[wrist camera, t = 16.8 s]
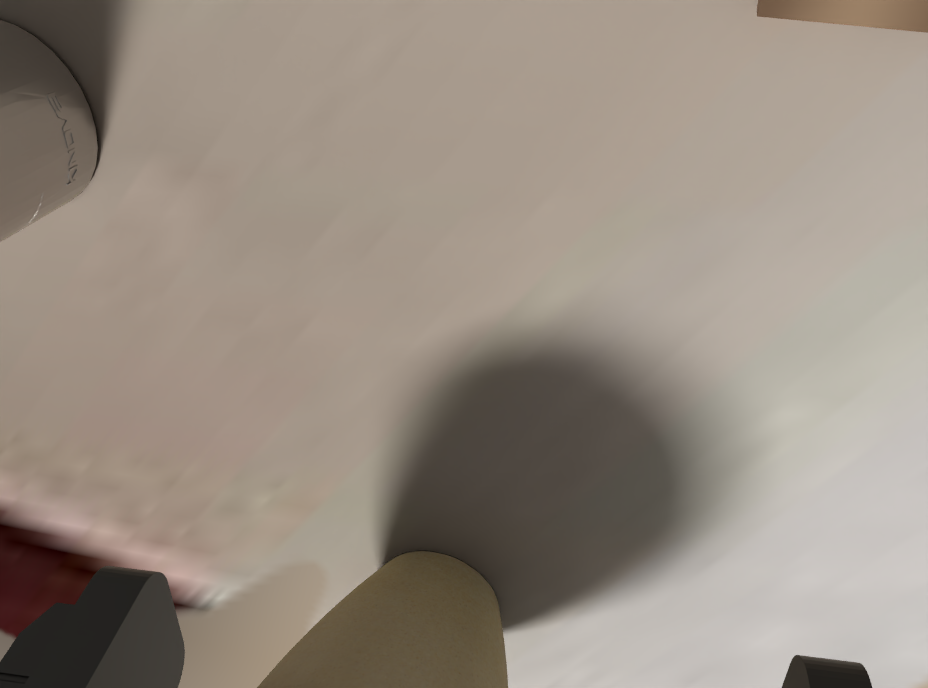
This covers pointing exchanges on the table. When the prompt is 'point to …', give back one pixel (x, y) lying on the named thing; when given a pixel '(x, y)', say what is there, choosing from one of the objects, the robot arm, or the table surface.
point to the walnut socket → (852, 12)
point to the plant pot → (404, 632)
